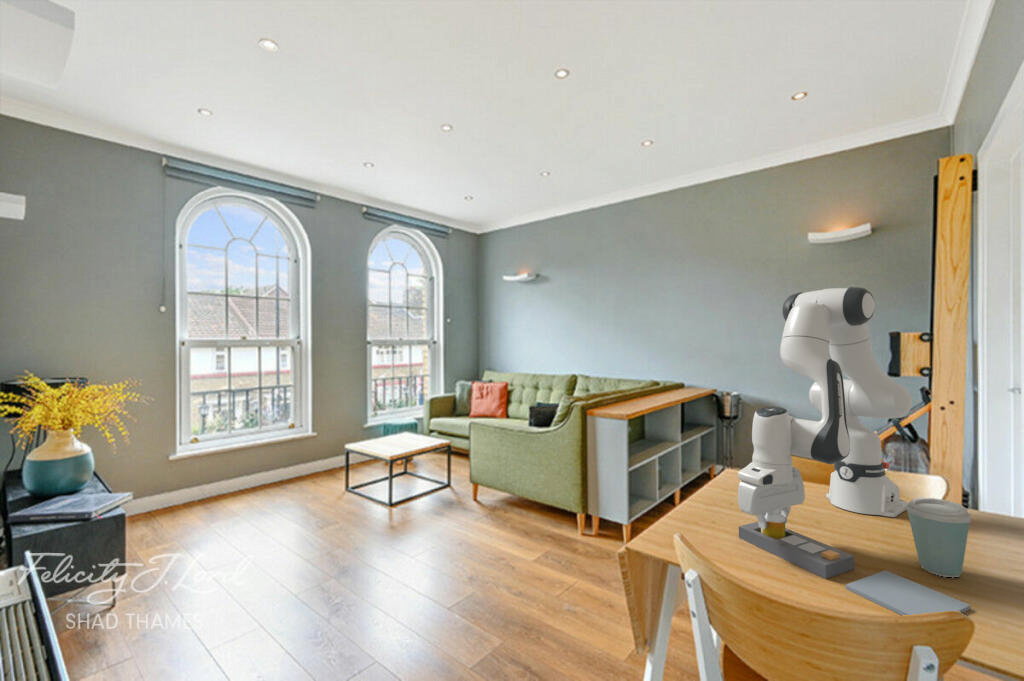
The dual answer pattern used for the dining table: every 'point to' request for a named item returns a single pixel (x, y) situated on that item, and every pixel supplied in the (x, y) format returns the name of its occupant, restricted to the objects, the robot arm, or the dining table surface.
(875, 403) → the robot arm
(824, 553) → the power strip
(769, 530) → the supplement bottle
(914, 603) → the mat
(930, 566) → the disposable coffee cup
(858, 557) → the dining table surface
